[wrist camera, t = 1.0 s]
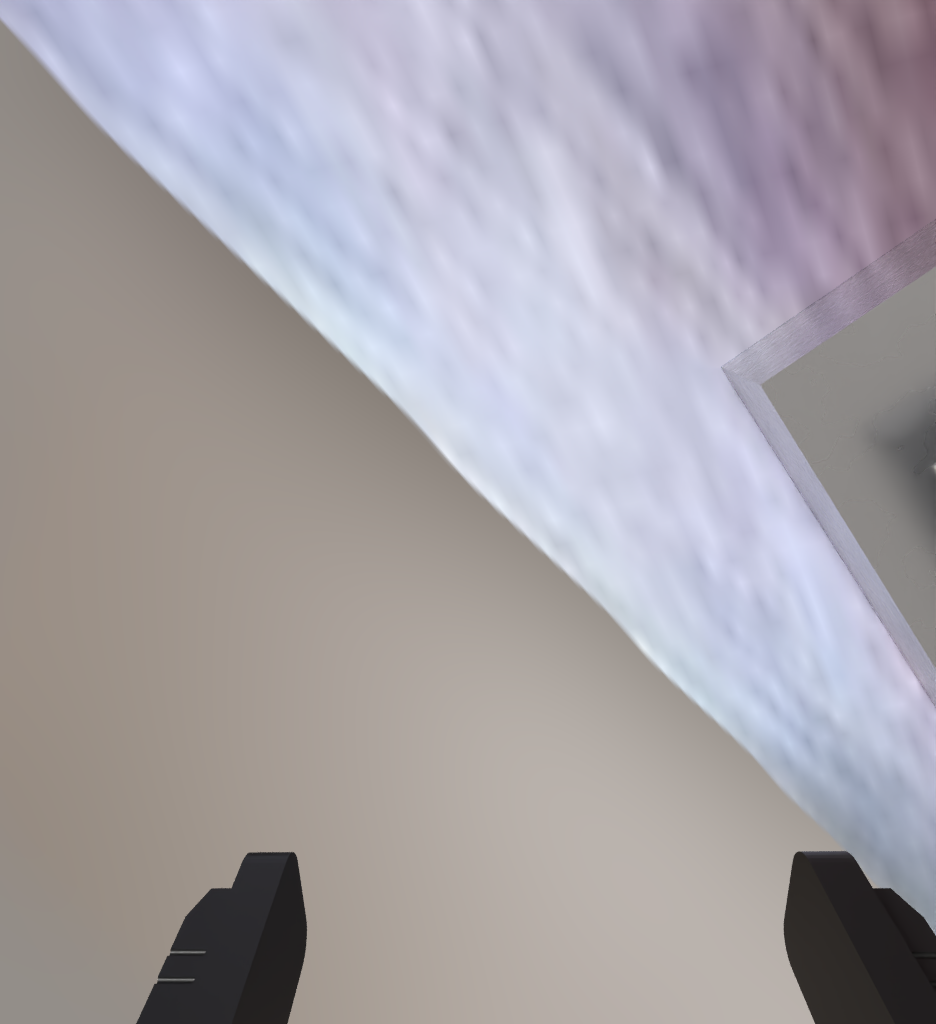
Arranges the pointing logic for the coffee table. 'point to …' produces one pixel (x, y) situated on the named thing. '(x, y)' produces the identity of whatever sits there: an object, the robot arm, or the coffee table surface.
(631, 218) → the coffee table surface
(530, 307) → the coffee table surface
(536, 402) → the coffee table surface
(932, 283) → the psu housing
